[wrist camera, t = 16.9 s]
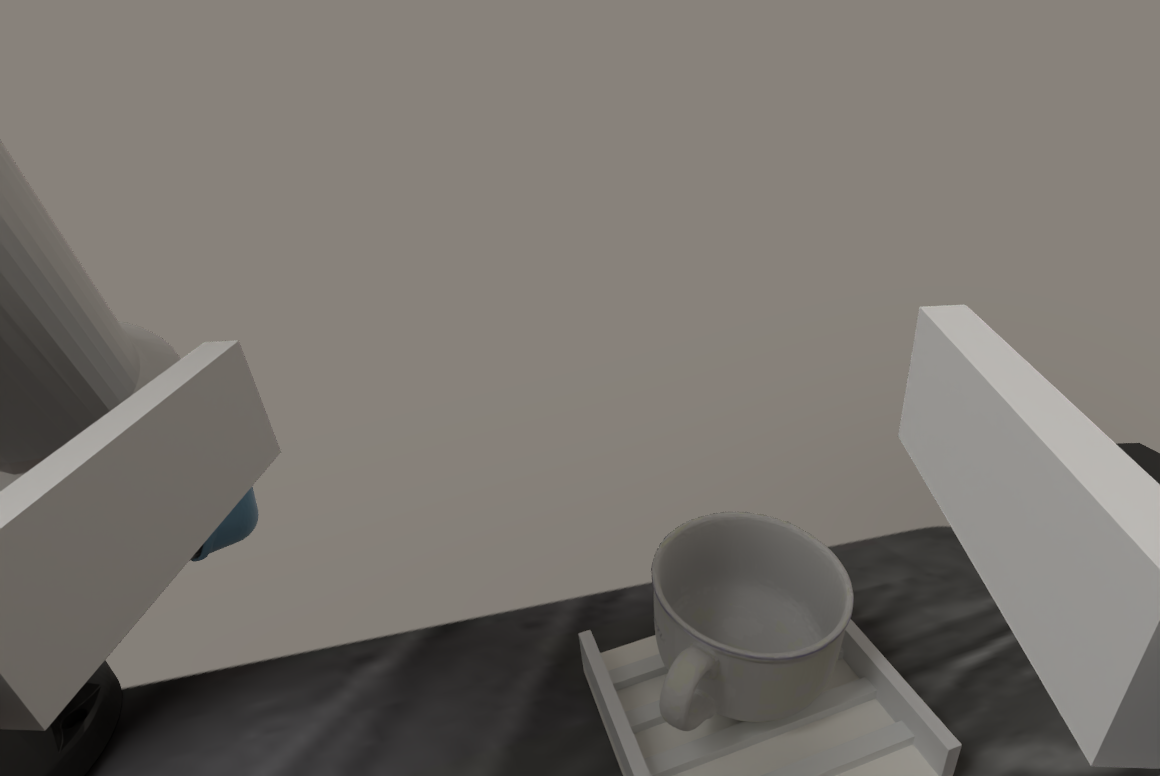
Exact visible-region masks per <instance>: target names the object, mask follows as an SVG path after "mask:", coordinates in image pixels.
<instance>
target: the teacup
mask: <svg viewBox="0 0 1160 776" xmlns="http://www.w3.org/2000/svg"><path fill="white" fill-rule="evenodd" d="M651 571H652V583H653V588H654V624H655V635H656V641H657V645H658V650H659V653H660V656H661V659H662V661H663V663H664V666H665V667H666V669H667V671H668V673H667V676H666V678H665V680H664V683H663V687H662V690H661V694H660V703H659V707H660V713H661V715H662V717H663V718H664V720H665V721H666V722H667V723H668V724H670V725H671V726H673V727H675V728H677V729H679V730H682V731H691V730H694V729H696V728H697V727H698V726H699V725H700V724H702V723H703V722H704V721H705V720H706V719H709V718H711V717H713V716H714V715H715V713H717V714H719V715H721V716H725V717H728V718H732V719H735V720H740V721H747V722H768V721H776V720H780V719H783V718H787V717H790V716H792V715H794V714H796V713H798V712H800V711H802V710H804V709H805V708H806V707H808V706H809V705H811V704H812V702H813V701H814V700H815V699H816V698H817V697H818V696H819V695H820V694H821V693H822V692H823V690H824V689H825V687H826V685H827V684H828V682H829V680H830V678H831V676H832V673H833V671H834V668H835V665H836V662H837V659H838V656H839V652H840V649H841V645H842V641H843V638H844V633H845V629H846V627H847V625H848V623H849V621H850V619H851V616H852V611H853V602H854V596H853V589H852V584H851V581H850V578H849V576H848V573H847V571H846V570H845V568H844V566H843V565H842V563H841V562H840V561H839V559H838V558H837V557H836V555H835V554H834V553H833V552H832V551H831V550H830V549H829V548H828V547H827V546H825V545H824V544H823V543H821V542H820V541H819V540H818V539H816V538H815V537H814V536H812V535H811V534H809V533H807V532H806V531H804V530H802V529H800V528H798V527H797V526H795V525H793V524H791V523H789V522H785V521H782V520H779V519H776V518H772V517H769V516H766V515H762V514H754V513H748V512H722V513H714V514H710V515H706V516H701V517H698V518H696V519H692V520H690V521H688V522H686V523H684V524H682V525H680V526H678V527H677V528H676V529H675V530H673V531H672V532H670V533H669V534H668V535H667V536H666V537H665V538H664V540H663V542H661V543H660V546H659V548H658V549H657V552H656V554H655V556H654V559H653V563H652V568H651Z"/></svg>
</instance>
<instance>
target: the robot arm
mask: <svg viewBox="0 0 1160 776" xmlns="http://www.w3.org/2000/svg"><path fill="white" fill-rule="evenodd" d="M898 436H899V438H900V440H901V442H902V443H903V445H904V447H905V448H906V450H907V452H908V454H909V455H910V457H911V458H912V461H913V462H914V464H915V466H916V467H917V469H918V471H919V473H920V474H921V476H922V478H923V479H924V481H925V483H926V484H927V486H928V488H929V490H930V491H931V493H932V495H933V496H934V498H935V500H936V502H937V503H938V505H939V507H940V508H941V510H942V512H943V514H944V515H945V517H946V519H947V520H948V522H949V524H950V526H951V527H952V529H953V531H954V532H955V534H956V536H957V538H958V539H959V541H960V543H961V544H962V546H963V548H964V550H965V551H966V553H967V555H968V556H969V558H970V560H971V562H972V563H973V565H974V567H975V568H976V570H977V572H978V574H979V575H980V577H981V579H982V580H983V582H984V584H985V585H986V587H987V589H988V591H989V592H990V594H991V596H992V597H993V599H994V601H995V603H996V604H997V606H998V608H999V609H1000V611H1001V613H1002V615H1003V616H1004V618H1005V620H1006V621H1007V623H1008V625H1009V627H1010V628H1011V630H1012V632H1013V633H1014V635H1015V637H1016V639H1017V640H1018V642H1019V644H1020V645H1021V647H1022V649H1023V651H1024V652H1025V654H1026V656H1027V657H1028V659H1029V661H1030V663H1031V664H1032V666H1033V668H1034V669H1035V671H1036V673H1037V675H1038V676H1039V678H1040V680H1041V681H1042V683H1043V685H1044V686H1045V688H1046V690H1047V692H1048V693H1049V695H1050V697H1051V698H1052V700H1053V702H1054V704H1055V705H1056V707H1057V709H1058V710H1059V712H1060V714H1061V716H1062V717H1063V719H1064V721H1065V722H1066V724H1067V726H1068V728H1069V729H1070V731H1071V733H1072V734H1073V736H1074V738H1075V740H1076V741H1077V743H1078V745H1079V746H1080V748H1081V750H1082V752H1083V753H1084V755H1085V757H1086V758H1087V760H1088V762H1089V764H1090V765H1091V766H1098V767H1127V768H1156V769H1160V453H1158V452H1156V451H1154V450H1152V449H1150V448H1148V447H1146V446H1144V445H1142V444H1140V443H1124V444H1115V443H1114V442H1113V441H1112V440H1111V439H1110V438H1109V437H1108V436H1107V435H1106V434H1104V433H1103V432H1102V431H1101V430H1100V429H1099V428H1098V427H1097V426H1096V425H1095V424H1094V423H1093V422H1092V421H1090V420H1089V419H1088V418H1087V417H1086V416H1085V415H1084V414H1083V413H1082V412H1081V411H1080V410H1079V409H1078V408H1077V407H1075V406H1074V405H1073V404H1072V403H1071V402H1070V401H1069V400H1068V399H1067V398H1066V397H1065V396H1064V395H1062V394H1061V393H1060V392H1059V391H1058V390H1057V389H1056V388H1055V387H1054V386H1053V385H1052V384H1051V383H1049V382H1048V381H1047V380H1046V379H1045V378H1044V377H1043V376H1042V375H1041V374H1040V373H1039V372H1038V371H1036V370H1035V369H1034V368H1033V367H1032V366H1031V365H1030V364H1029V363H1028V362H1027V361H1026V360H1025V359H1024V358H1022V357H1021V356H1020V355H1019V354H1018V353H1017V352H1016V351H1015V350H1014V349H1013V348H1012V347H1011V346H1009V345H1008V344H1007V343H1006V342H1005V341H1004V340H1003V339H1002V338H1001V337H1000V336H999V335H998V334H997V333H996V332H994V331H993V330H992V329H991V328H990V327H989V326H988V325H987V324H986V323H985V322H984V321H983V320H981V319H980V318H979V317H978V316H977V315H976V314H975V313H974V312H973V311H972V310H971V309H970V308H969V307H967V306H966V305H949V306H948V305H947V306H929V307H928V306H927V307H920V308H919V314H918V320H917V326H916V332H915V338H914V345H913V350H912V356H911V362H910V369H909V374H908V380H907V386H906V392H905V399H904V405H903V410H902V416H901V423H900V428H899V435H898ZM280 453H281V451H280V448H279V446H278V443H277V440H276V437H275V435H274V432H273V429H272V427H271V424H270V422H269V419H268V416H267V414H266V411H265V408H264V406H263V403H262V401H261V398H260V396H259V393H258V390H257V387H256V385H255V382H254V380H253V377H252V374H251V372H250V369H249V367H248V364H247V361H246V359H245V356H244V353H243V351H242V348H241V345H240V343H239V341H219V342H204V343H203V344H201V345H200V346H198V347H197V348H196V349H194V350H193V351H192V352H190V353H189V354H187V355H186V356H185V357H183V358H182V359H180V357H179V356H178V354H177V353H176V352H175V350H174V349H173V348H172V347H171V346H170V345H169V344H168V343H167V342H166V341H165V340H164V339H163V338H161V337H159V336H158V335H156V334H155V333H153V332H151V331H149V330H146V329H144V328H142V327H139V326H136V325H133V324H130V323H125V322H120V321H117V319H116V317H115V316H114V314H113V313H112V311H111V310H110V308H109V307H108V305H107V304H106V302H105V300H104V299H103V297H102V296H101V294H100V293H99V291H98V290H97V288H96V287H95V285H94V284H93V282H92V280H91V279H90V277H89V276H88V274H87V273H86V271H85V270H84V268H83V267H82V265H81V264H80V262H79V260H78V259H77V257H76V256H75V254H74V253H73V251H72V250H71V248H70V247H69V245H68V243H67V242H66V241H65V239H64V237H63V236H62V234H61V233H60V231H59V230H58V228H57V226H56V225H55V223H54V222H53V220H52V219H51V217H50V216H49V214H48V213H47V211H46V209H45V208H44V206H43V205H42V203H41V202H40V200H39V199H38V197H37V196H36V194H35V192H34V191H33V190H32V188H31V186H30V185H29V183H28V182H27V181H26V179H25V177H24V176H23V174H22V172H21V171H20V169H19V168H18V166H17V165H16V163H15V162H14V160H13V159H12V157H11V155H10V154H9V152H8V151H7V149H6V148H5V146H4V145H3V143H2V142H1V140H0V776H84V775H85V774H86V773H87V772H88V771H89V769H90V768H91V767H92V765H93V764H94V763H95V761H96V760H97V759H98V757H99V756H100V754H101V753H102V751H103V749H104V748H105V746H106V745H107V743H108V741H109V739H110V737H111V735H112V733H113V731H114V729H115V726H116V724H117V721H118V718H119V715H120V711H121V705H122V691H121V686H120V683H119V681H118V679H117V677H116V676H115V674H114V673H113V671H112V670H111V668H110V667H109V665H108V664H107V662H106V661H105V659H106V658H107V657H108V656H109V655H110V653H111V652H112V651H113V650H114V649H115V648H116V646H117V645H118V644H119V643H120V642H121V640H122V639H123V638H124V637H125V636H126V635H127V633H128V632H129V631H130V630H131V629H132V627H133V626H134V625H135V624H136V623H137V622H138V620H139V619H140V618H141V617H142V616H143V614H144V613H145V612H146V611H147V610H148V608H149V607H150V606H151V605H152V604H153V603H154V601H155V600H156V599H157V598H158V597H159V596H160V594H161V593H162V592H163V591H164V590H165V588H166V587H167V586H168V585H169V584H170V583H171V581H172V580H173V579H174V578H175V577H176V576H177V574H178V573H179V572H180V571H181V570H182V568H183V567H184V566H185V565H186V563H188V561H190V560H192V561H199V560H202V559H204V558H206V557H207V555H208V554H209V553H212V552H214V551H217V550H219V549H221V548H224V547H227V546H229V545H231V544H234V543H236V542H239V541H241V540H243V539H244V538H245V537H247V536H248V535H249V534H250V533H251V532H252V531H253V529H254V528H255V526H256V524H257V521H258V509H257V504H256V500H255V496H254V491H253V487H252V486H253V484H254V483H255V482H256V481H257V480H258V479H259V477H260V476H261V475H262V474H263V473H264V472H265V470H266V469H267V468H268V467H269V466H270V464H271V463H272V462H273V461H274V460H275V459H276V457H277V456H278V455H279V454H280Z"/></svg>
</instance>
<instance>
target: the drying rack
mask: <svg viewBox="0 0 1160 776" xmlns="http://www.w3.org/2000/svg"><path fill="white" fill-rule="evenodd" d="M578 634H579V641H580V648H581V655H582V662H583V669H584V673H585V676H586V679H587V681H588V684H589V687H590V689H591V692H592V695H593V697H594V700H595V703H596V705H597V708H598V711H599V713H600V716H601V719H602V721H603V724H604V727H605V729H606V732H607V735H608V737H609V740H610V743H611V745H612V748H613V751H614V753H615V756H616V759H617V761H618V764H619V767H620V769H621V772H622V774H623V776H953V774H954V771H955V767H956V764H957V760H958V757H959V753H960V750H961V746H962V744H961V743H960V742H959V741H958V740H957V739H956V738H955V736H954V735H953V734H952V733H951V732H950V731H949V730H948V729H947V727H946V726H945V725H944V724H943V723H942V722H941V721H940V719H939V718H938V717H937V716H936V715H935V714H934V713H933V712H932V710H931V709H930V708H929V707H928V706H927V705H926V704H925V702H924V701H923V700H922V699H921V698H920V697H919V696H918V695H917V693H916V692H915V691H914V690H913V689H912V688H911V687H910V686H909V684H908V683H907V682H906V681H905V680H904V679H903V678H902V676H901V675H900V674H899V673H898V672H897V671H896V670H895V669H894V667H893V666H892V665H891V664H890V663H889V662H888V661H887V659H886V658H885V657H884V656H883V655H882V654H881V653H880V652H879V650H878V649H877V648H876V647H875V646H874V645H873V644H872V642H871V641H870V640H869V639H868V638H867V637H866V636H865V635H864V633H863V632H862V631H861V630H860V629H859V628H858V627H857V625H856V624H855V623H854V622H853V621H852V620H851V619H850V621H849V623H848V625H847V627H846V629H845V633H844V638H843V641H842V645H841V649H840V652H839V656H838V659H837V662H836V665H835V668H834V671H833V673H832V676H831V678H830V680H829V682H828V684H827V685H826V687H825V689H824V690H823V692H822V693H821V694H820V695H819V696H818V697H817V698H816V699H815V700H814V701H813V702H812V704H811V705H809V706H808V707H806V708H805V709H804V710H802V711H800V712H798V713H796V714H794V715H792V716H790V717H787V718H783V719H780V720H776V721H768V722H747V721H740V720H735V719H732V718H728V717H725V716H721V715H719V714H717V713H715V715H714V716H713V717H711V718H709V719H706V720H705V721H704V722H703V723H702V724H700V725H699V726H698V727H697V728H696V729H694V730H691V731H682V730H679V729H677V728H675V727H673V726H671V725H670V724H668V723H667V722H666V721H665V720H664V718H663V717H662V715H661V713H660V707H659V703H660V694H661V690H662V687H663V683H664V680H665V678H666V676H667V673H668V671H667V669H666V667H665V666H664V663H663V661H662V659H661V656H660V653H659V650H658V645H657V641H656V635H654V636H651V637H648V638H645V639H642V640H639V641H636V642H633V643H630V644H627V645H624V646H621V647H618V648H614V649H611V650H608V651H605V652H602V653H600V652H599V649H598V647H597V644H596V642H595V640H594V637H593V635H592V632H591V630H587V631H584V632H581V633H578Z"/></svg>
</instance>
